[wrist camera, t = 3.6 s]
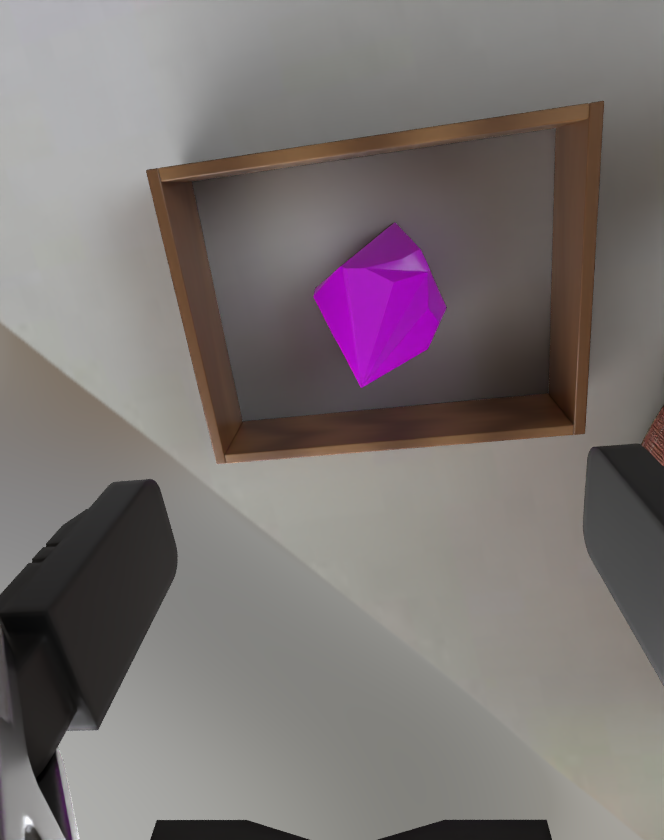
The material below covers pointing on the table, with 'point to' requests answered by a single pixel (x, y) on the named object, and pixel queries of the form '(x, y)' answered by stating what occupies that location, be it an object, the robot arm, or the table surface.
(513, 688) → the table surface
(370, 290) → the crystal
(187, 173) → the wooden box frame
